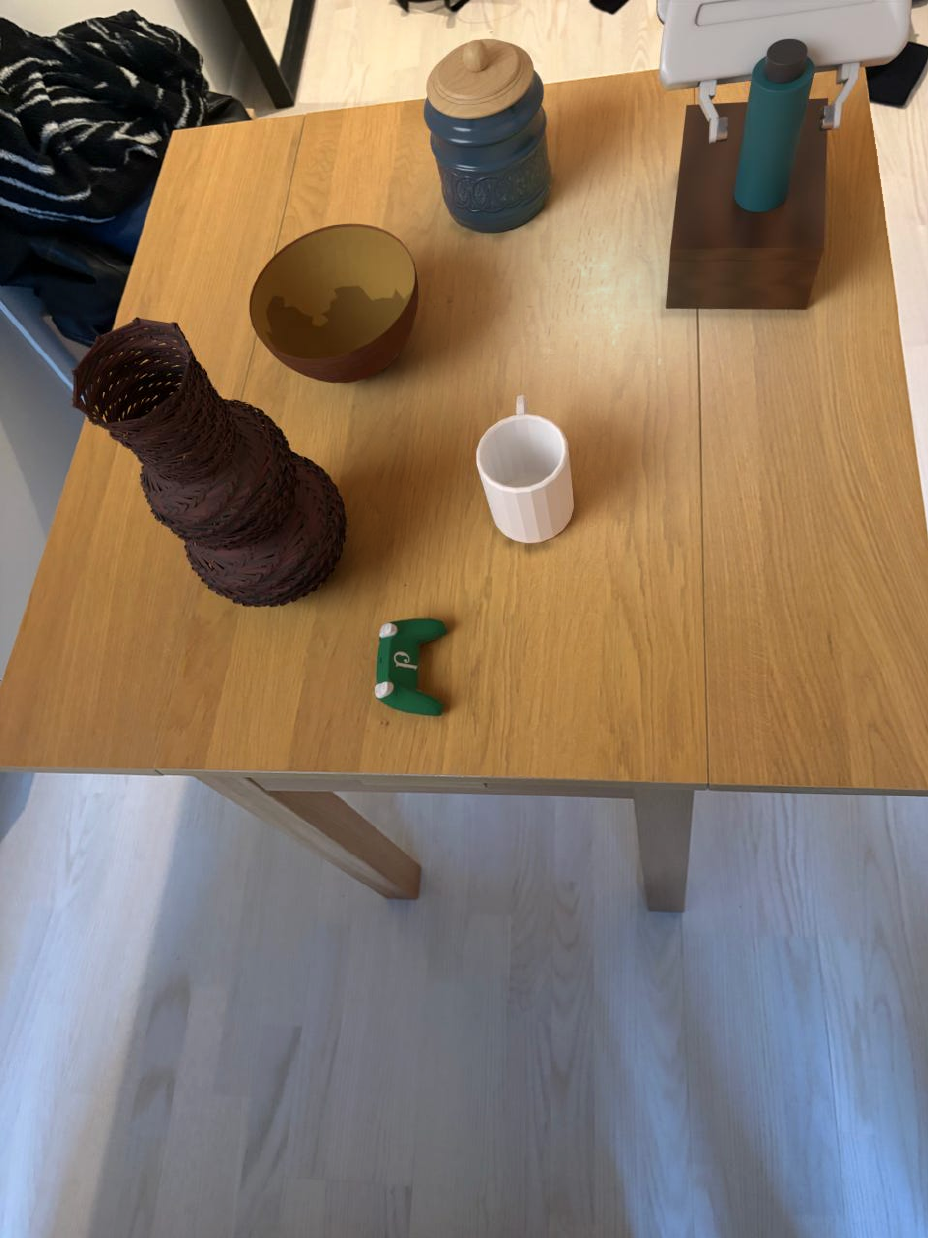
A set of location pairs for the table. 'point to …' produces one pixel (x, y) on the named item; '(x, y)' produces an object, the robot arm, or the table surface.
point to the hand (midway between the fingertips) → (772, 135)
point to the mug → (526, 475)
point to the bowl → (337, 302)
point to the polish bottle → (773, 125)
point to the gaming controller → (405, 665)
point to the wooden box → (745, 222)
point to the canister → (489, 135)
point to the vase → (214, 468)
